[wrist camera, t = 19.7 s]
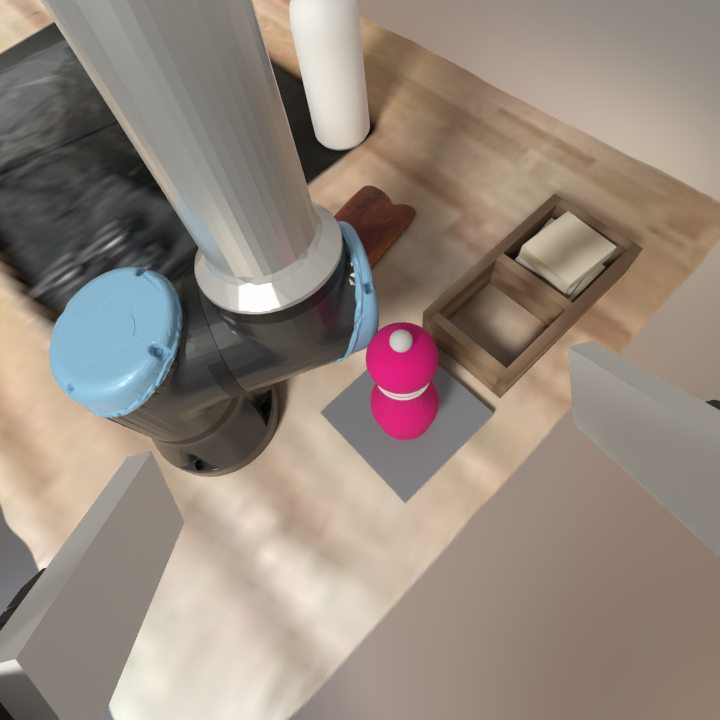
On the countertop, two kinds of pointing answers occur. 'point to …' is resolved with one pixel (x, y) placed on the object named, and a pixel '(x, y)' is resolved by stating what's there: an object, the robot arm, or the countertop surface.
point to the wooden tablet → (375, 220)
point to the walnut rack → (522, 297)
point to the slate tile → (416, 456)
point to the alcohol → (332, 69)
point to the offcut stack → (566, 255)
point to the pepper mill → (403, 379)
